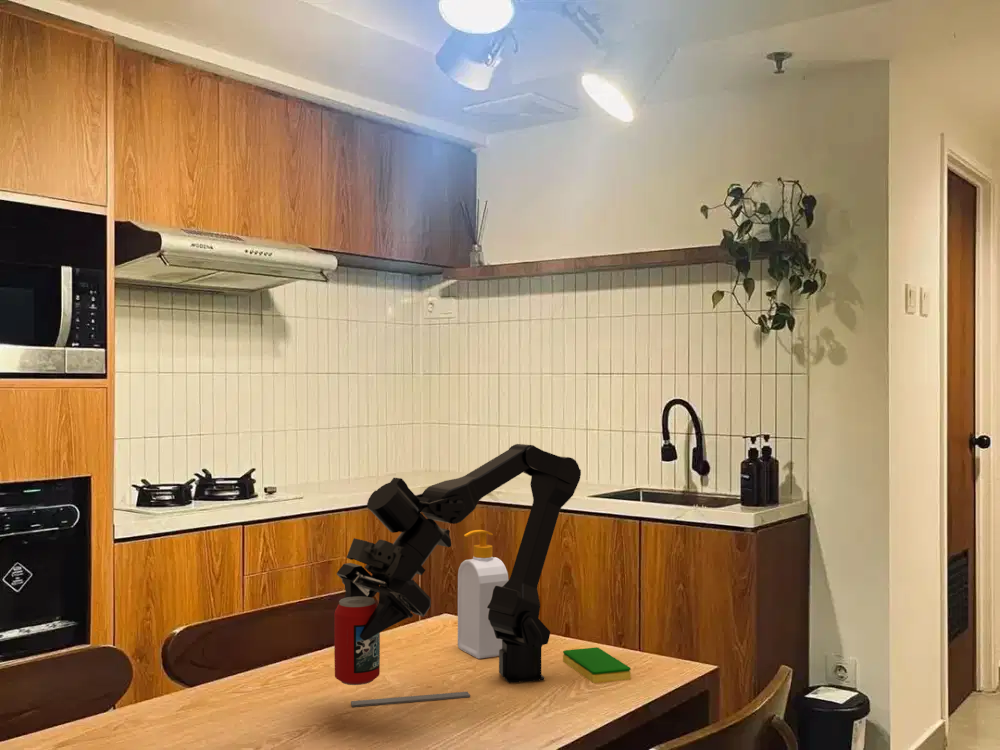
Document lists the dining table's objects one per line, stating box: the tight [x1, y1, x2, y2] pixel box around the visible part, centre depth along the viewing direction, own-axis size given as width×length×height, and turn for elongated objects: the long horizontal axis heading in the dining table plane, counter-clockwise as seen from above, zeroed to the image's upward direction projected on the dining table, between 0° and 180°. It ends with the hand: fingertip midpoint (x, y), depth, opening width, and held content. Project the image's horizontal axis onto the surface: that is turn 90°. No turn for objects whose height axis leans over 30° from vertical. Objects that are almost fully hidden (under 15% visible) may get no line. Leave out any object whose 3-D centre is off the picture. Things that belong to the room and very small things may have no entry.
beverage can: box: [333, 596, 381, 686], centre depth 145 cm, size 7×7×12 cm
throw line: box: [350, 691, 471, 708], centre depth 154 cm, size 19×2×1 cm, turn 105°
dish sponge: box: [562, 646, 632, 684], centre depth 171 cm, size 7×14×2 cm, turn 19°
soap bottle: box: [457, 529, 509, 660], centre depth 182 cm, size 9×7×23 cm
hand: (349, 634), depth 144 cm, fingers closed on beverage can, 7 cm apart
